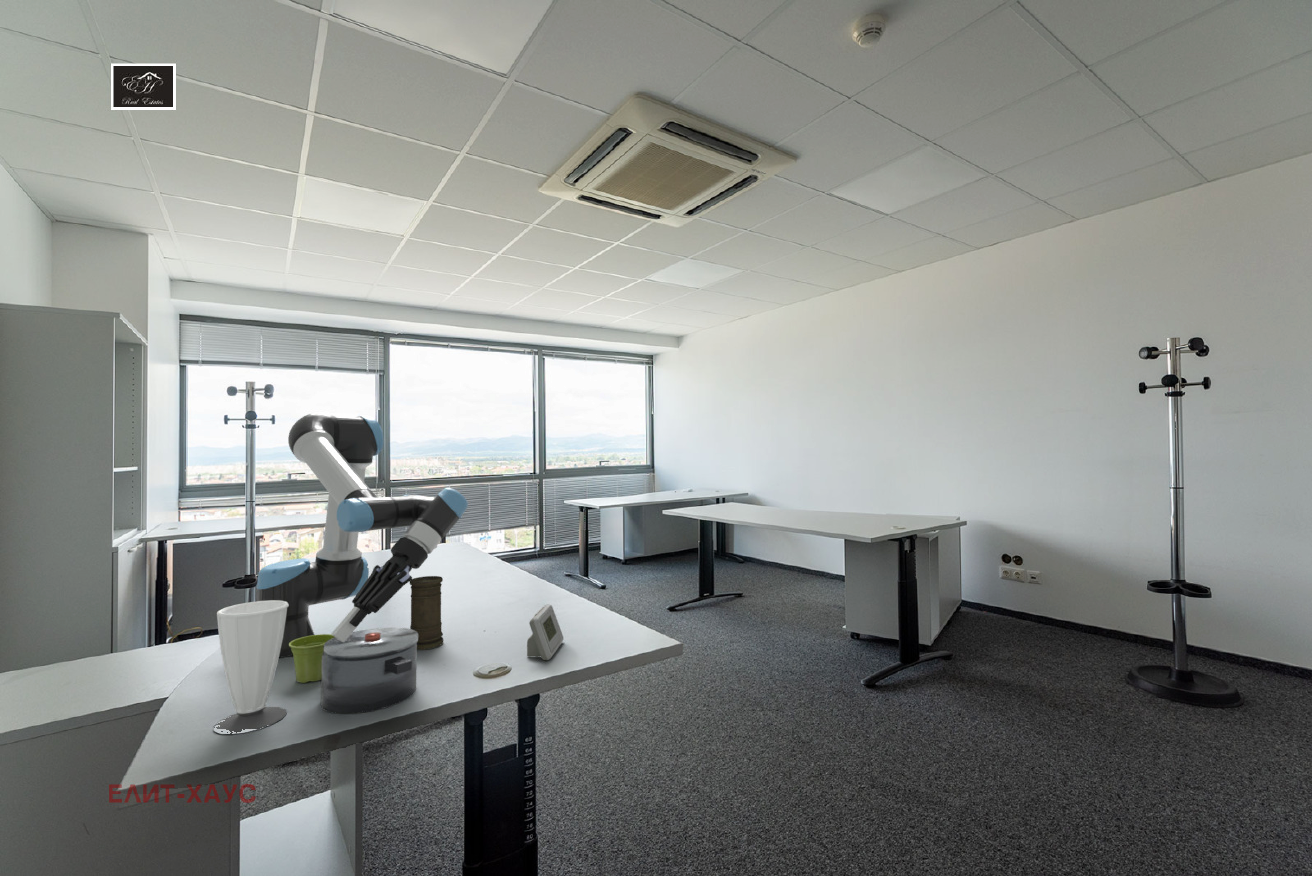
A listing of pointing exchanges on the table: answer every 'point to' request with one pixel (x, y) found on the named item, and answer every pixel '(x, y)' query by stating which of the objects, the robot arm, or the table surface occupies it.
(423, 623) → the container
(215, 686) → the table surface
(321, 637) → the plant pot
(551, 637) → the digital clock
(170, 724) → the table surface
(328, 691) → the cooking pot
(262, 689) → the cup
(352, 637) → the pot lid
